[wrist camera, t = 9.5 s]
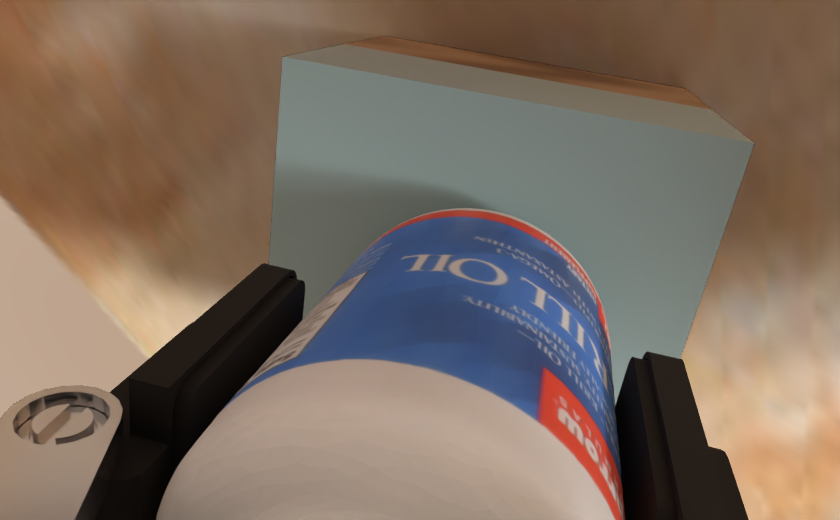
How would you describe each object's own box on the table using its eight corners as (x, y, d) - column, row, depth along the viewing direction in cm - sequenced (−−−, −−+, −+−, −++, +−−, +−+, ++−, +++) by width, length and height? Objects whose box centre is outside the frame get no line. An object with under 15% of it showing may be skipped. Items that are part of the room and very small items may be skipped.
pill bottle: (669, 311, 13) (891, 1038, 4) (499, 483, 15) (393, 1198, 6) (432, 141, 13) (92, 496, 4) (295, 340, 15) (-126, 867, 6)
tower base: (685, 88, 19) (712, 109, 16) (606, 357, 23) (613, 425, 19) (384, 35, 21) (344, 43, 17) (352, 298, 24) (313, 352, 20)
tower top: (712, 109, 16) (754, 143, 12) (613, 425, 19) (622, 525, 16) (344, 43, 17) (282, 56, 13) (313, 352, 20) (257, 428, 17)
